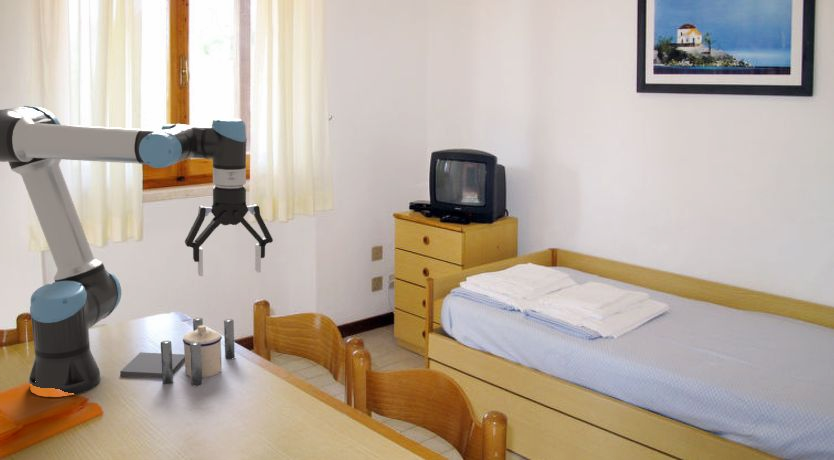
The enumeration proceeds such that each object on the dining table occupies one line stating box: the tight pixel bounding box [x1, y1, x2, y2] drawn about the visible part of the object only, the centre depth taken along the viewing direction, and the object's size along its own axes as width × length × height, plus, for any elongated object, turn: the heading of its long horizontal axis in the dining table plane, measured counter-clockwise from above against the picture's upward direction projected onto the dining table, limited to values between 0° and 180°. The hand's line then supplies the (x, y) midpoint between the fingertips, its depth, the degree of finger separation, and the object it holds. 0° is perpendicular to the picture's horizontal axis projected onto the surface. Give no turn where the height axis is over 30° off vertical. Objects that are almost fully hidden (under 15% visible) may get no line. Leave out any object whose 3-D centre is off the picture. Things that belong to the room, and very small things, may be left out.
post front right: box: [190, 342, 203, 387], centre depth 185 cm, size 2×2×10 cm
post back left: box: [192, 317, 204, 331], centre depth 201 cm, size 2×2×10 cm
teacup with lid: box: [182, 324, 223, 379], centre depth 192 cm, size 12×9×12 cm
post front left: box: [160, 340, 174, 385], centre depth 185 cm, size 2×2×10 cm
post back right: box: [223, 318, 236, 360], centre depth 200 cm, size 2×2×10 cm
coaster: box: [119, 351, 185, 379], centre depth 194 cm, size 12×12×1 cm
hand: (229, 272), depth 188 cm, fingers open, 13 cm apart
